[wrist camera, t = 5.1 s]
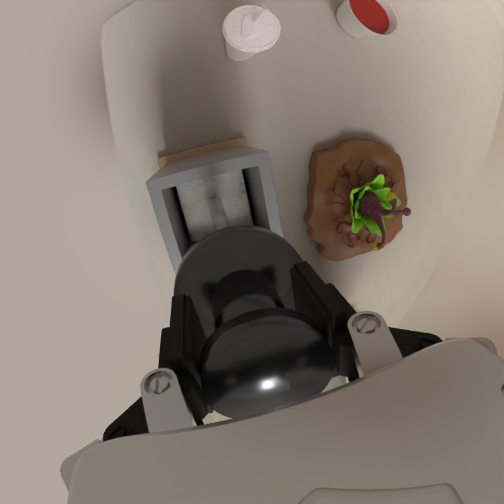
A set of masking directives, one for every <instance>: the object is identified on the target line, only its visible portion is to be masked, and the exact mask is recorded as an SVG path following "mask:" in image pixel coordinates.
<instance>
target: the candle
mask: <svg viewBox="0 0 504 504" xmlns="http://www.w3.org/2000/svg"><path fill="white" fill-rule="evenodd" d="M336 17H337V21H338V23H339V25H340V26H341V28H342V29H343V30H344V31H345V32H346V33H348V34H349V35H351V36H353V37H356V38H370V37H379V36H388V35H391V34H393V33H394V32H395V31H396V30H397V27H398V17H397V14H396V12H395V10H394V8H393V6H392V5H391V3H390V2H389V1H388V0H344V1H343V2H342V4H341V5H340V6H339V8H338V9H337V12H336Z"/></svg>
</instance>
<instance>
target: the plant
mask: <svg viewBox="0 0 504 504" xmlns="http://www.w3.org/2000/svg"><path fill="white" fill-rule="evenodd" d="M309 172H310V179H309V184H308V188H307V194H308V209H307V212H306V214H305V216H304V217H303V219H304V220H305V221H306V222H307V224H308V231H307V234H308V236H309V237H310V238H311V239H312V240H313V241H315V242H317V243H319V248H318V251H319V253H320V254H321V255H322V256H324V257H326V258H328V259H331V260H334V261H341V260H344V259H347V258H350V257H353V256H356V255H359V254H363V253H366V252H369V251H372V250H377V251H378V250H380V249H381V248H383V247H384V246H385V245H386V244H388V243H389V242H391V241H392V240H393V239H394V238H395V236H396V235H397V233H398V232H399V231H400V230H401V229H402V227H403V226H402V216H403V214H404V215H405V216H409V215H410V213H411V210H410V209H409V208H408V207H406V206H407V195H406V187H405V176H404V170H403V166H402V162H401V159H400V156H399V155H398V154H396V153H394V152H392V151H390V150H388V149H386V148H385V147H384V146H383V145H382V144H380V143H377V142H375V141H371V140H342V141H341V142H339V143H338V144H337V145H336V146H334V147H333V148H330V149H327V150H324V151H321V152H314V153H312V158H311V161H310V164H309Z"/></svg>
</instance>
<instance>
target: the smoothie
mask: <svg viewBox="0 0 504 504" xmlns="http://www.w3.org/2000/svg"><path fill="white" fill-rule="evenodd" d="M222 31H223V35H224V37H225V41H226V53H227V55H228V56H229V57H230V58H231V59H232V60H235V61H244V60H247V59H248V58H250V57H251V56H253V55H255V54H256V53H258V52H262V51H265V50H267V49H269V48H271V47H272V46H273V45H274V44H275V43H276V41H277V40H278V38H279V36H280V33H281V26H280V23H279V20H278V19H277V17H276V16H275V15H274V14H273V13H272V12H271V11H269V10H268V7H267V6H262V7H261V6H257V5H243V6H239V7H237V8H235V9H233V10H232V11H230V12H229V13H228V15H227V16H226V18H225V20H224V21H223V25H222Z"/></svg>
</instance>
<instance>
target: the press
mask: <svg viewBox="0 0 504 504" xmlns="http://www.w3.org/2000/svg"><path fill="white" fill-rule="evenodd" d="M158 163H159V167H160V170H158V171H157V172H156V173H155V174H154V175H153V176H152V177H151V178H150V179H149V180H148V181H147V182H146V184H147V187H148V191H149V194H150V198H151V201H152V204H153V208H154V211H155V214H156V217H157V221H158V224H159V227H160V230H161V233H162V236H163V239H164V242H165V245H166V248H167V251H168V254H169V257H170V260H171V263H172V266H173V269H174V271H175V274H176V273H177V270H178V267H179V264H180V262H181V260H182V259H183V257H184V256H185V254H186V253H187V251H188V250H189V249H190V248H191V247H192V246H193V245H194V244H195V243H196V242H197V241H194V242H192V241H191V237H190V234H189V231H188V227H187V224H186V220H185V217H184V213H183V210H182V206H181V202H180V199H179V195H178V192H177V188H176V186H178V185H181V184H185V183H189V182H192V181H196V180H200V179H204V178H208V177H212V176H216V175H220V174H224V173H228V172H232V171H236V170H242V175H243V179H244V184H245V189H246V194H247V198H248V203H249V208H250V213H251V218H252V223H253V226H257V227H262V228H265V229H268V230H271V231H273V232H274V233H276V234H278V235H280V236H281V237H282V238H283V233H282V227H281V221H280V215H279V209H278V203H277V198H276V192H275V186H274V181H273V175H272V170H271V164H270V159H269V154H268V151H264V150H260V149H255V148H250V147H246V142H245V137H240V138H235V139H230V140H226V141H221V142H217V143H213V144H209V145H204V146H200V147H196V148H193V149H189V150H185V151H181V152H178V153H174V154H171V155H167V156H164V157H160V158H158ZM198 241H199V240H198Z"/></svg>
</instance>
